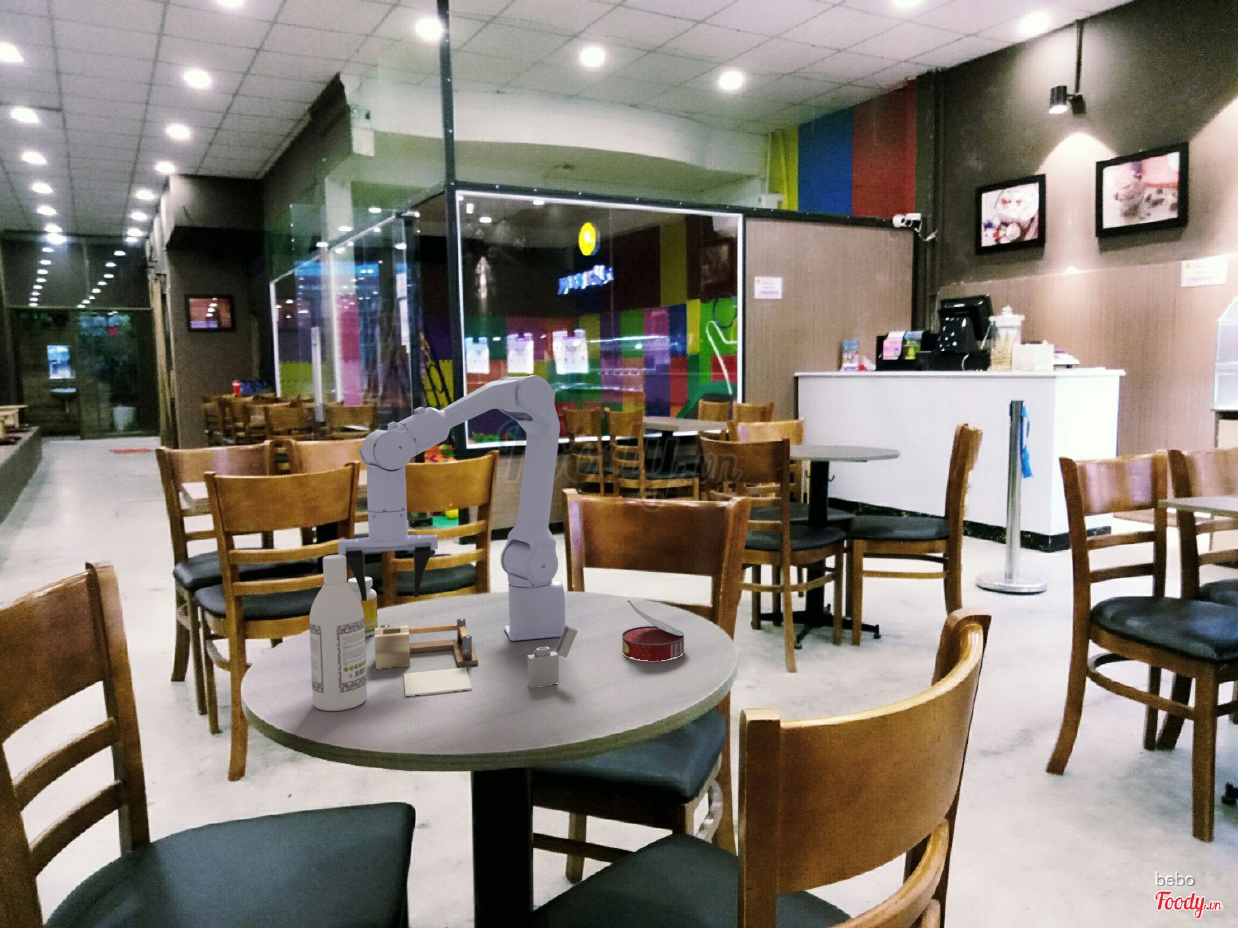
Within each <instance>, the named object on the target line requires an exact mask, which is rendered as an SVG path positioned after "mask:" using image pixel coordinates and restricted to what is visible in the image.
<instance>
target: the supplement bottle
mask: <svg viewBox="0 0 1238 928" xmlns="http://www.w3.org/2000/svg"><path fill="white" fill-rule="evenodd" d="M365 582H366V590H367V601H362V599H361V593H360V589H359V586H358V583H357V581H356V578H355V577H352V578H348V580H347V583H348V584H349V586H350V587H351V588H352V590H353V591H354V592H355V594H356V595H357V597H358V598H359V600H360V602H361V605H362V608H363V613H364V625H365V636H367V637H370V636H369V635H371V636H373V635H372V634H374V635H375V628H379V626H378V597H377V592H376V590H374V589H373V588H372V587H373V578H372V577H370V576H365Z"/></svg>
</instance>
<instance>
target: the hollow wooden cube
mask: <svg viewBox="0 0 1238 928" xmlns="http://www.w3.org/2000/svg"><path fill="white" fill-rule="evenodd" d="M408 628H409V625H398V626H390V627H384V628H381V627H378V628H375V634H374V649H375V650H374V652H375V653H374V657H375V670H376V669H378V670H383V669H382V668H388V669H390V668H389V667H399V668H407V667H411V657H410V655H411V653H410V649H409V643H410V634H409V629H408Z"/></svg>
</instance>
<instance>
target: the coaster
mask: <svg viewBox="0 0 1238 928" xmlns="http://www.w3.org/2000/svg"><path fill="white" fill-rule="evenodd" d="M403 680H404V681H403V682H404V696H405V698H407V697H406V696H410V697H416V696H415V695H420V696H426V695H438V694H446V693H455V692H454V691H457V692H464V691H463V690H467V691H472V690H473V689H472V685H471V684H472V683H471V680H470V678H469V675H468V669H467V667H457V668H449V669H437V670H426V671H417V672H408V673H403Z"/></svg>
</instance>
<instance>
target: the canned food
mask: <svg viewBox="0 0 1238 928" xmlns="http://www.w3.org/2000/svg"><path fill="white" fill-rule="evenodd" d="M627 603H628V604H629V605H630V606H631V607H632V608H633V610H634V611H635V612H636V613H637V614H638V615H639V616H641V617H642V618H643V619H644V620H646V622H648V623H650V624H651V625H647V626H646V625H645V626H638V627H632V628H629V629H627V630H624V632H622V635H621V637H622V640H621V641H622V644H621V645H622V648H621V649H622V652H623V653H624V654H625V655H626V656H628V657H633V658H635V659H640V660H648V661H657V660H658V661H661V660H667V659H670V658H673V657H678V656H680V655H681V654H682V653H683V652H684V653H685V633H684V632H683V631H681V630H679V629H677V628H675V627H673V626H671V625H669V624H666V623H665V622H663V621H660V620H658V619H656V618H653V616H650V615H649V614H646V613H644V612H642V611H641V610H639V609H638V608H637V607H636V606H635V605H634V604H633V602H631V600H629V599H628V600H627ZM623 653H622V654H623Z"/></svg>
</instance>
